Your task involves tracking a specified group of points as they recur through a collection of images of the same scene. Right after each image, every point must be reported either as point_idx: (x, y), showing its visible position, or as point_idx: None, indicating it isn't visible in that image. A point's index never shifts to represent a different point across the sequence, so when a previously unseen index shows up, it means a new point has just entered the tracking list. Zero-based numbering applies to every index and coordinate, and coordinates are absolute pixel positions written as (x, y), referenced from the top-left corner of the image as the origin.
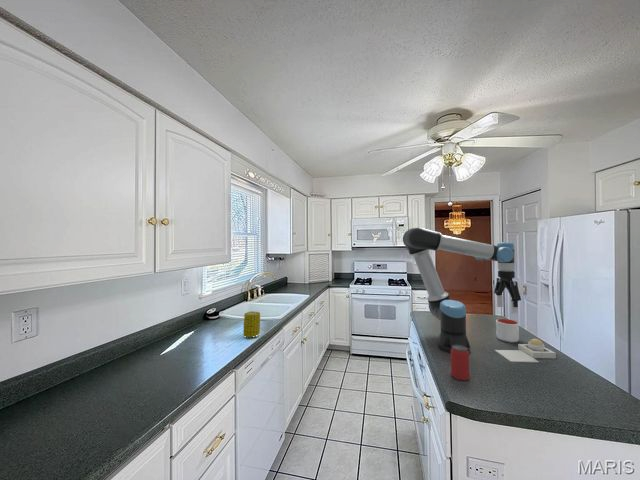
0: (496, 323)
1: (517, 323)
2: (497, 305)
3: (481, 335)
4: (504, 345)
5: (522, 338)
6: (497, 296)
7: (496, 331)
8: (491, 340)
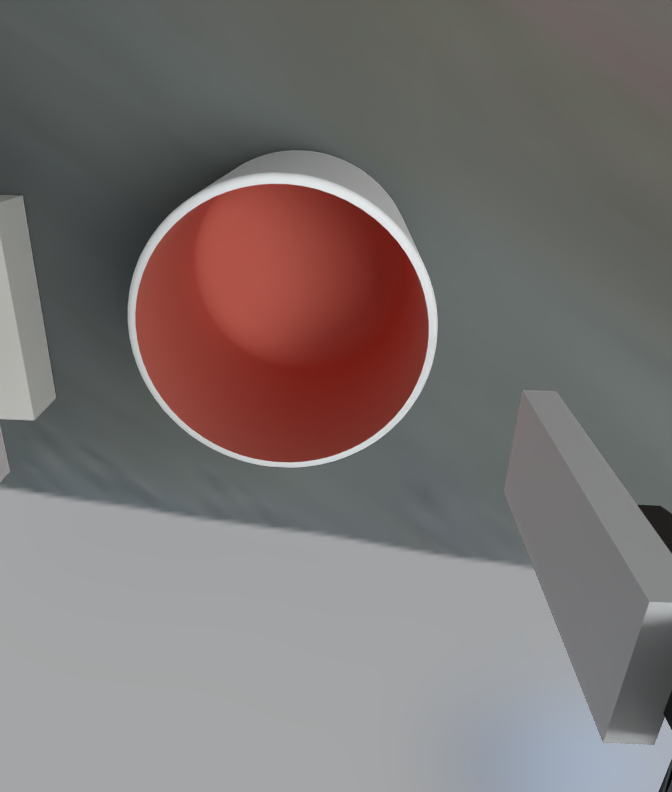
0: (334, 176)
1: (247, 447)
2: (548, 406)
3: (461, 3)
4: (112, 103)
5: None
6: (650, 577)
7: (350, 169)
8: (271, 35)
